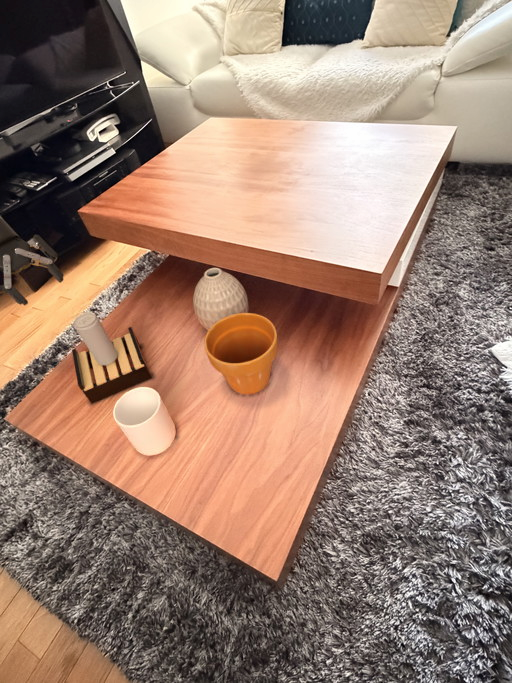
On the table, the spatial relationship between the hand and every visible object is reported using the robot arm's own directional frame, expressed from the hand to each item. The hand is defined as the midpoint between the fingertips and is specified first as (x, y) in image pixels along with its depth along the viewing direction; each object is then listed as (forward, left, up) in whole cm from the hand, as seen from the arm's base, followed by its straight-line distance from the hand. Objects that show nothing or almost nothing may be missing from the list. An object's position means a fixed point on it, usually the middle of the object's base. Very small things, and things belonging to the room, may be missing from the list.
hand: (44, 292), depth 81 cm
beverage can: (+6, -9, -16) cm, 19 cm away
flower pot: (+32, -27, -21) cm, 47 cm away
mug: (+9, -29, -21) cm, 37 cm away
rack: (+6, -9, -21) cm, 23 cm away
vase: (+34, -9, -21) cm, 41 cm away
